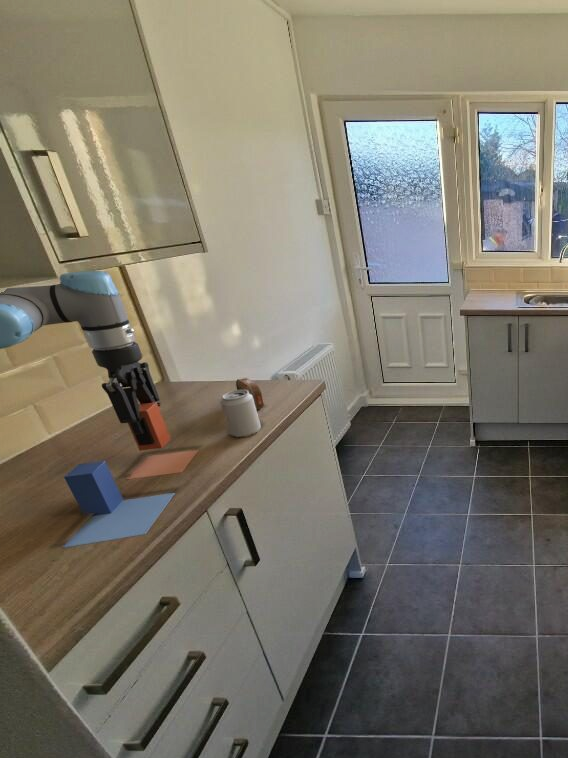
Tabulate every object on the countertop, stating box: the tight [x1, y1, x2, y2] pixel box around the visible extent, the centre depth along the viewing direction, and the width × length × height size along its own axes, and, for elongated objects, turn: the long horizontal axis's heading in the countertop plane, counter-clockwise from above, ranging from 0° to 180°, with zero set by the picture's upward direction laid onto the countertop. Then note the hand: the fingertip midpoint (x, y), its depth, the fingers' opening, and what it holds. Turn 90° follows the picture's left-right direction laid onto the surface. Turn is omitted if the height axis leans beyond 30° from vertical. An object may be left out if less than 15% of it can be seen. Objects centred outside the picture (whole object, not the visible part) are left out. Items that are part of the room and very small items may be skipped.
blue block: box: [63, 460, 124, 516], centre depth 85 cm, size 4×4×10 cm
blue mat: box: [61, 492, 176, 549], centre depth 84 cm, size 14×13×1 cm
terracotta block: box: [127, 401, 171, 452], centre depth 97 cm, size 4×4×10 cm
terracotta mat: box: [126, 449, 200, 481], centre depth 102 cm, size 12×10×1 cm
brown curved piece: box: [235, 377, 265, 411], centre depth 130 cm, size 15×3×8 cm, turn 49°
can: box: [220, 389, 262, 438], centre depth 114 cm, size 8×8×12 cm
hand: (152, 438), depth 99 cm, fingers closed on terracotta block, 4 cm apart
